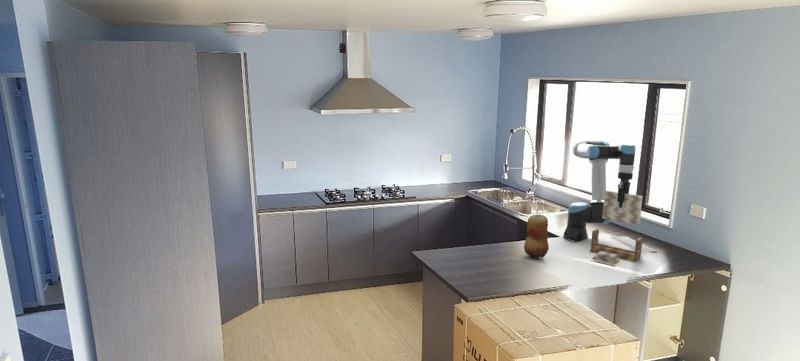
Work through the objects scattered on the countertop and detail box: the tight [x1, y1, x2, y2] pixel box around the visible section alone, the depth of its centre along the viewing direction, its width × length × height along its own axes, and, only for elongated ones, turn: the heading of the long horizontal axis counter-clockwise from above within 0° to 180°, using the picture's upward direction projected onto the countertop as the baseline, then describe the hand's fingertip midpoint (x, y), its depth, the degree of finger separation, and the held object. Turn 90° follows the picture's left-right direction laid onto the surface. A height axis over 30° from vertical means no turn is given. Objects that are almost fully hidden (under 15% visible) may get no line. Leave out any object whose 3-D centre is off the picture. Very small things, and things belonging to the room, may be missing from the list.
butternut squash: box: [523, 213, 550, 260], centre depth 287 cm, size 14×13×25 cm
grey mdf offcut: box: [596, 251, 618, 261], centre depth 284 cm, size 9×6×2 cm, turn 50°
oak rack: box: [588, 228, 643, 263], centre depth 293 cm, size 26×12×14 cm, turn 48°
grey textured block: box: [592, 254, 620, 268], centre depth 284 cm, size 12×7×3 cm, turn 48°
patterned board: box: [602, 190, 643, 226], centre depth 289 cm, size 20×2×16 cm, turn 47°
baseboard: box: [609, 234, 658, 253], centre depth 319 cm, size 31×3×12 cm
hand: (621, 212), depth 289 cm, fingers closed on patterned board, 2 cm apart
